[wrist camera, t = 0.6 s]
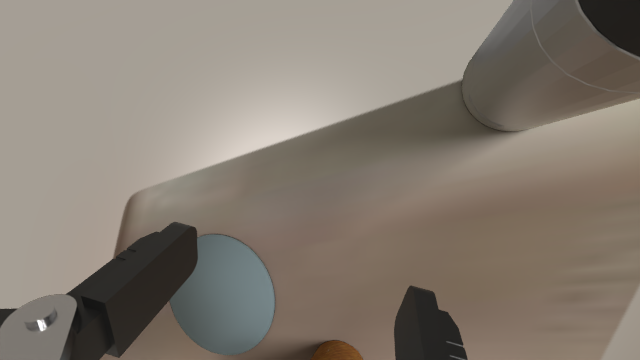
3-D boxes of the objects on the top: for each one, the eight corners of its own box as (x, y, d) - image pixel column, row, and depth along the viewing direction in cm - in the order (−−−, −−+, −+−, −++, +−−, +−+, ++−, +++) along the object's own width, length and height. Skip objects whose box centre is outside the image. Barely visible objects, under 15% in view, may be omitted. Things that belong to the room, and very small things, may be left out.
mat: (219, 209, 35) (217, 209, 35) (300, 307, 33) (299, 308, 33) (150, 282, 39) (149, 283, 38) (219, 376, 36) (218, 377, 36)
